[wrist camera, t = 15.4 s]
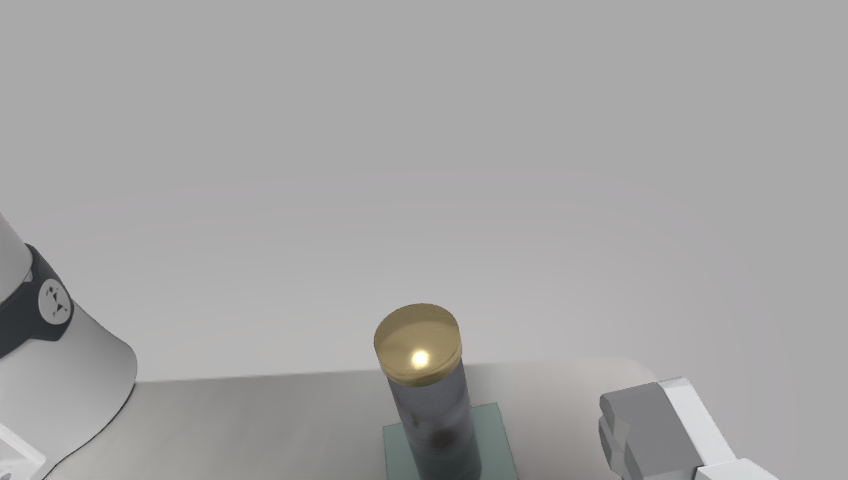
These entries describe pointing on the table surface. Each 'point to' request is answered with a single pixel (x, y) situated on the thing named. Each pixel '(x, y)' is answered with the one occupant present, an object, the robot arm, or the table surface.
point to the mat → (490, 438)
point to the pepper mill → (430, 390)
